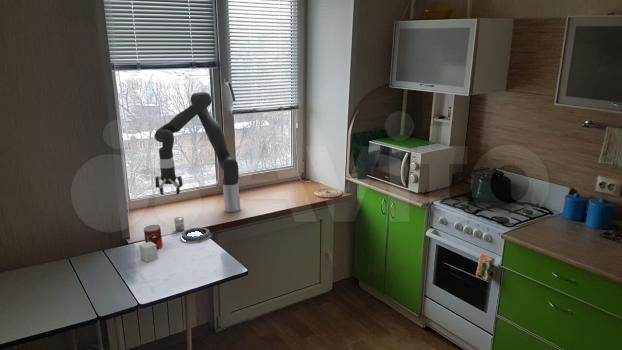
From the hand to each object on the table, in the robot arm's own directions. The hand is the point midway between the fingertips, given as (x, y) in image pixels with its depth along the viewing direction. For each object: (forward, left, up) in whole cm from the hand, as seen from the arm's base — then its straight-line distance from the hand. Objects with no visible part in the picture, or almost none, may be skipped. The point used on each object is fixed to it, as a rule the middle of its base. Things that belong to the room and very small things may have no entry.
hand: (170, 194), depth 257 cm
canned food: (+10, +26, -20) cm, 34 cm away
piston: (-3, +6, -20) cm, 21 cm away
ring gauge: (-11, +19, -19) cm, 29 cm away
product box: (+12, +39, -20) cm, 45 cm away
